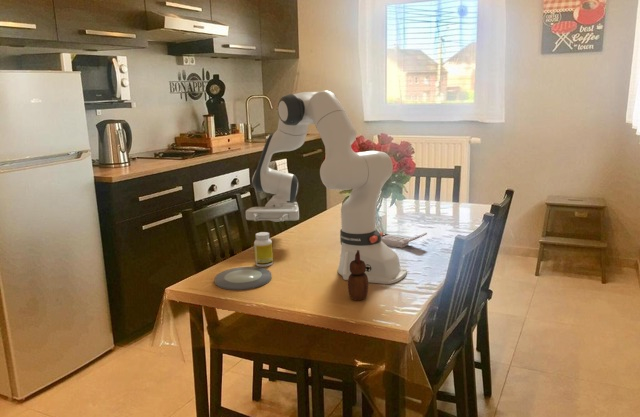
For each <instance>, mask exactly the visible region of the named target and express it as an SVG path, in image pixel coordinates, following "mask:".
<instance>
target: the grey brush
mask: <svg viewBox="0 0 640 417" xmlns="http://www.w3.org/2000/svg"><path fill="white" fill-rule="evenodd" d="M427 235H428V232H425V233H422V234H419V235H417V236H415V237H412V238H410V239H409V238H406V237H402V236H401V237H400V236H397V235H396V236H395V235H391V234H388V233H385V235H382V236H381V241H382V242H383V243H384V244H386V245H387V246H388V247H389V246H390V247H397V248H402V249H403V248H405V247H406V246H408V245H409V243H410V242H413V241H416V240H417V239H420V238H423V237H424V236H427Z"/></svg>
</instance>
